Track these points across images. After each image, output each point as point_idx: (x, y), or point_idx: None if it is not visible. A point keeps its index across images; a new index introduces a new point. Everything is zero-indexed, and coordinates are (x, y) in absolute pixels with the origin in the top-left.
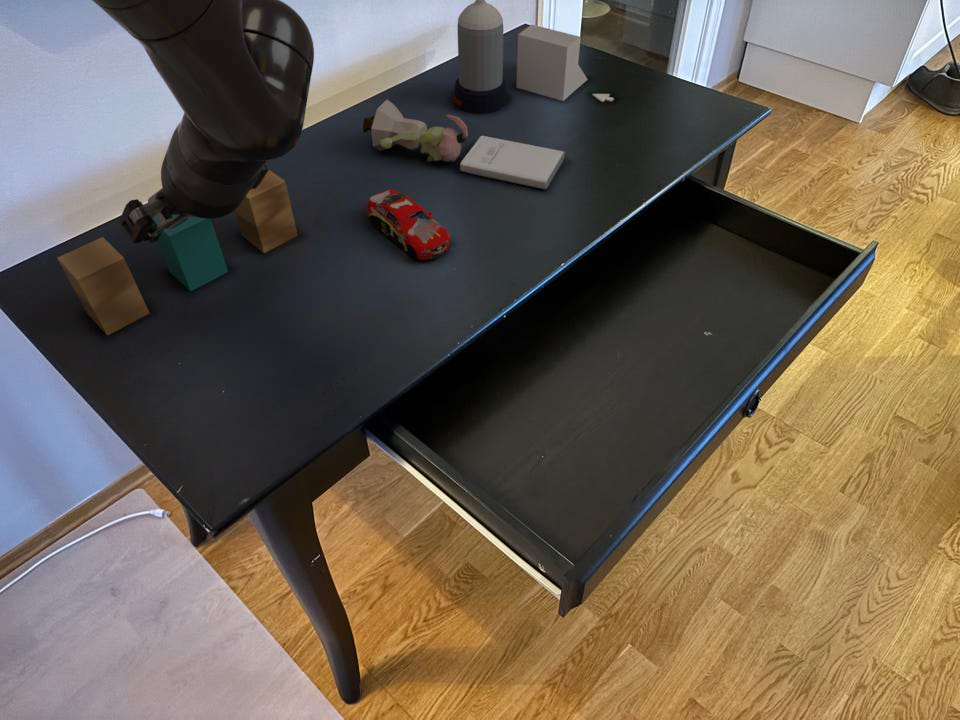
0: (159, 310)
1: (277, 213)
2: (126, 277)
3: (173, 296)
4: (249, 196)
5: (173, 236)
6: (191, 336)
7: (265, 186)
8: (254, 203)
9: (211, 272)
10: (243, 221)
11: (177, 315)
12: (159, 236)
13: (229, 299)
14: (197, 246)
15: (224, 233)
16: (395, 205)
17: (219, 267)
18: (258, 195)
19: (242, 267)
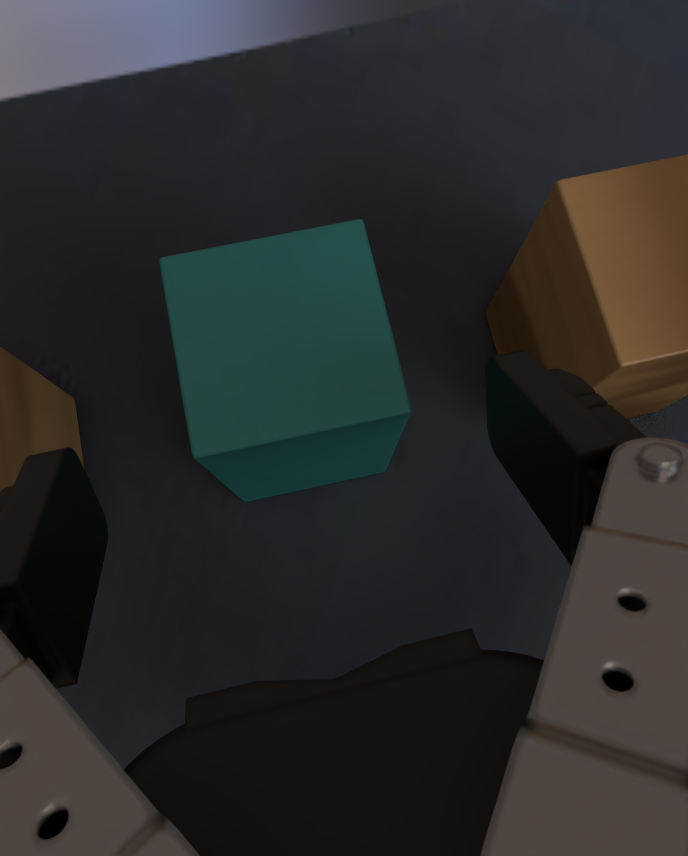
0: (126, 537)
1: (666, 385)
2: None
3: (188, 492)
4: (629, 355)
5: (214, 457)
6: (169, 731)
7: None
8: (625, 376)
9: (330, 478)
10: (521, 323)
11: (166, 595)
12: (92, 602)
13: (343, 612)
14: (310, 459)
15: (436, 269)
16: None
17: (363, 471)
18: (667, 357)
19: (435, 471)
